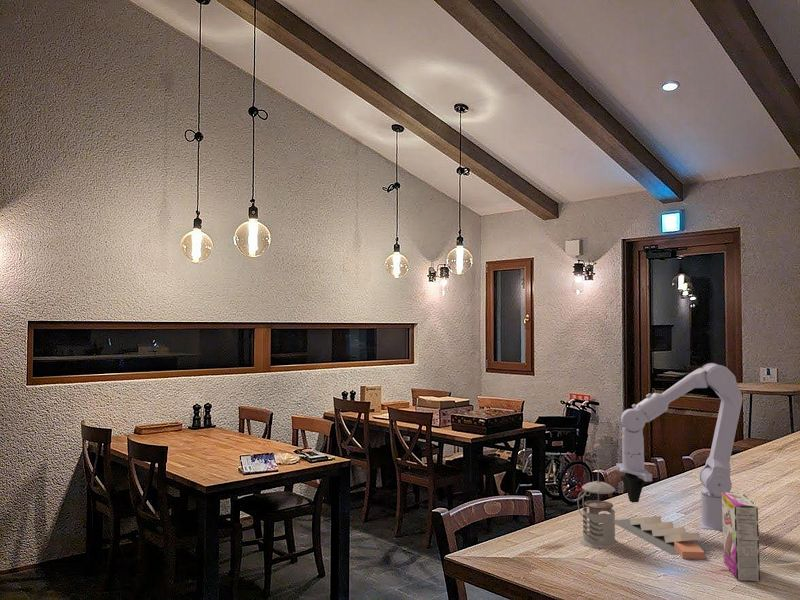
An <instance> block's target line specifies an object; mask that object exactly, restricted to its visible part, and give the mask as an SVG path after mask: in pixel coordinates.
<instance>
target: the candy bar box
mask: <svg viewBox="0 0 800 600" xmlns="http://www.w3.org/2000/svg"><path fill="white" fill-rule="evenodd" d="M721 494H722V521H723V530H722V542H723V543H722V544H723V546H722V547H723V549H722V550H723V563H724V564H725V565H726V567H727V568H728V570H729V571H730V572H731V574H732V575H733V577H734V578H735V580H737V581H738V582H739V581H740V582H748V583H749V582H751V583H753V582H754V583H760V582H761V570H760V569H761V567H760V563H761V562H760V535H759V532H760V530H759V506H757V505H756V504H755V503H754V502H753V501H752V500H751V499H750V498H749V497H747V496H746V495H745V494H744V493H743V492H742V493H741V492H730V493H728V492H724V493H721Z"/></svg>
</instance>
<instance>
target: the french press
mask: <svg viewBox="0 0 800 600" xmlns="http://www.w3.org/2000/svg"><path fill="white" fill-rule="evenodd" d="M593 448H594V449H597V451H596V452H597V453H596V454H597V456H596V457H597V461H599V450H600V449H602V445H601V444H600V443H595V444H593ZM599 469H600V468H599V465H597V480H595V481H590V482H587V483H585V484H583V485H582V486H581V489H582V491H580V492H579V494H578V495H577V500H579V499H580V496H581V494H582V493H583V492H584V493H583V495H582V502H581V503H582V504H581V505H582V507H583V508H582V512H581V511H580V505H579V504H580V503H579V502H580V501H577V508H578V512H579V514H580V516H581V517H582V537H581V538H580V539H579V540H578V542H579V544H581V545H582V546H584V547H588V548H590V549H597V550H602V548H610V547H614V546H617V545H618V543H619V542H618V541H617V540H616V537H615V536H616V527H615V526H616V524H615V522H614V521H615V520H616V512H615V510H614V509H613V507H614V504H613V503H611V502H609V501H605V500H600V495H608V494H613V493H615V491H616V489H615V487H614V486H612V485H610V484H609V483H607V482H604V481H600V480H599V479H600V478H599V476H600V475H599V473H600V472H599ZM587 492H588V493H589V494H587ZM591 494H596V495H597V500H596V499H593V500H587V501H586V500H585V501H584V499H585V497H589V496H590V495H591ZM600 512H608V513H600ZM599 513H600V514H599Z"/></svg>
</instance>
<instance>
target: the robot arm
mask: <svg viewBox="0 0 800 600" xmlns="http://www.w3.org/2000/svg"><path fill="white" fill-rule="evenodd" d="M708 387H709V388H710V389H712V390H713V391H714V392H715V394H716V395H717V396H718V397H719V399H720V404H719V410H718V414H717V420H716V423H715V428H714V433H713V438H712V443H711V448H710V452H709V456H708V457H707V458H706V461H705V465H704V467H703V468H702V469H701V470H700V472H699V481H700V482H701V484H702V485H703V487H702V488H701V490H700V501H701V503H700V504H701V505H700V506H701V508H700V511H701V515H700V516H701V518H699V519H698V523H699V525H700V527H701V529H702V530H712V531H723V521H722V494H721V493H724V492H728V493H731V490H732V480H731V472H732V471H731V469H732V468H731V463H730V461H731V457H732V453H733V447H734V443H735V438H736V434H737V433H736V431H737V428H738V424H739V419H740V413H741V409H742V405H743V400H744V399H743V398H744V397H743V394H742V392H741V389H740V386H739V385H738V382H737V378H736V376H735V374H734V373H733V372H732V371H731V370H730V369H729V368H728V367H727V366H724V365H721V364H718V363H715V362H710V363H709V362H708V363H706V364H704V365H702V367H698V368H697V369H695V370H693V371H691V372H690V373H689V374H687V375H686V376H684V377H683V378H682V379H680V380H678V381H677V382H676V383H674V384H673V385H672V386H670V387H669V388H668V389H666V390H665V391H663V392H662V393H658V392H653V393H652V394H651V393H648V394H646V395H645V397H646V398H644V399H643V400H641V401H639V402H637V404H635V403H633V404H632V405H631V407H632V408H627V409H625V410H624V411H623V412H622V414H621V416H620V418H619V419H620V423H621V425H622V429H621V432H622V436H621V444H622V445H621V449H622V451H621V452H622V454H621V455H622V462H618V463H615V467H616V468H615V469H616V471H619V472H621V473H625V474H623V475H622V474H621V475H620V479H621V480H622V482H623V484H624V487H625V489H626V492H627V493H626V494H627V496H628V501H629V503H630V502H631V503H639V502H640V498H641V494H642V491H643V488H644V485H645V484H646V483H647V482H653V473H650V472H649V471H648V470H647V469H645V443H644V442H645V441H644V433H643V432H644V427H645V426H646V423H650V422H652V420H653V421H654V420H655V419H656V418H657V417H659V416H661V415H662V414H664V413H665V412H667V411H668V409H669V404H670V403H672V402H674V401H676V400H677V399H679V398H680V397H682V396H684V395H685V394H687V393H688V392H690V391H692V390H694V389H708Z"/></svg>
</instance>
